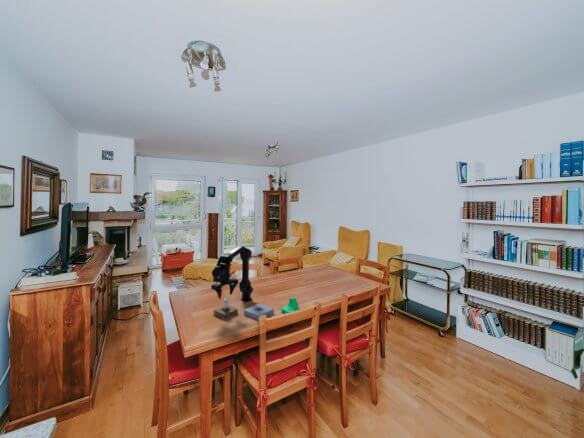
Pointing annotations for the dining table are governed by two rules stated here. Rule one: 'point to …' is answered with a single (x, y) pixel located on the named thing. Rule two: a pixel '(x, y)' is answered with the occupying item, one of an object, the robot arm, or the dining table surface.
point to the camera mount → (291, 306)
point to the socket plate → (258, 311)
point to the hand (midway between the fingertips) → (225, 296)
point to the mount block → (227, 314)
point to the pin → (225, 305)
